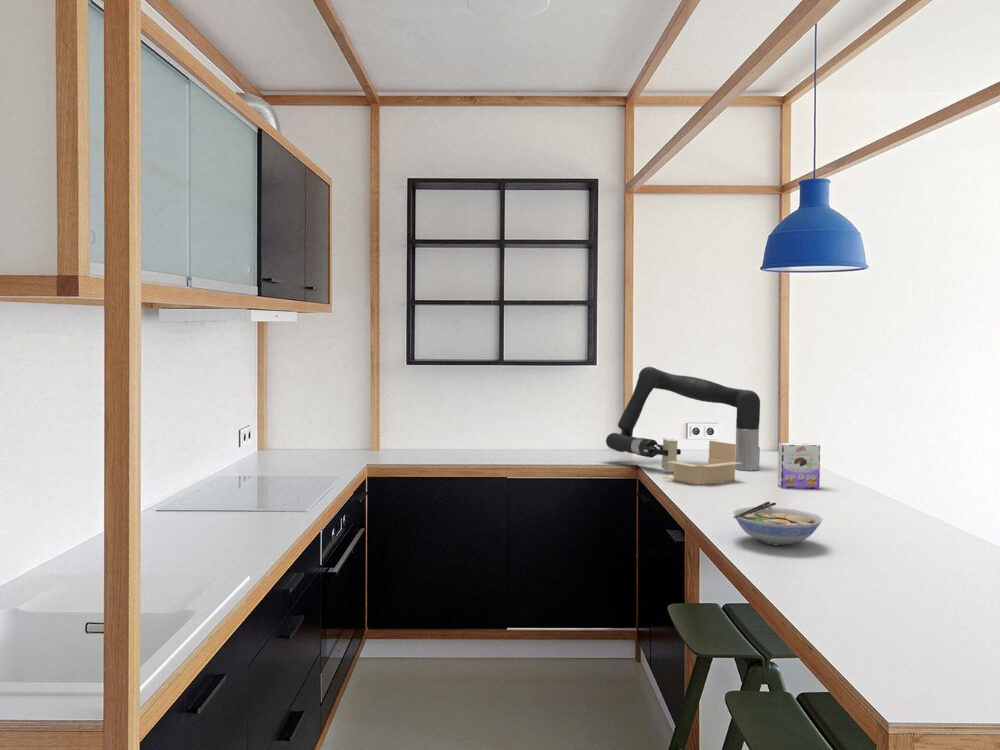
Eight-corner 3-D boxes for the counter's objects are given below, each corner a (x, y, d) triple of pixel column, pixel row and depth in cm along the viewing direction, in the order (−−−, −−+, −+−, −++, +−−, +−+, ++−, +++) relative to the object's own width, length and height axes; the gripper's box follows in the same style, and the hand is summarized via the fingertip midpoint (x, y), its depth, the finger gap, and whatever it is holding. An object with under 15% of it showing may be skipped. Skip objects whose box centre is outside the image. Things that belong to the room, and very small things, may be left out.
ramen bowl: (800, 559, 202) (801, 526, 202) (715, 543, 218) (715, 512, 217) (836, 541, 221) (837, 511, 221) (755, 527, 236) (756, 499, 236)
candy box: (815, 486, 305) (816, 442, 304) (819, 489, 299) (821, 444, 298) (777, 485, 306) (778, 441, 306) (780, 488, 300) (782, 443, 300)
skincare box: (661, 467, 334) (662, 438, 333) (672, 467, 334) (673, 438, 334) (665, 470, 328) (666, 440, 327) (676, 470, 328) (677, 440, 327)
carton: (696, 473, 332) (697, 438, 332) (742, 481, 313) (743, 445, 312) (654, 478, 319) (654, 442, 318) (699, 487, 299) (700, 449, 299)
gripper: (632, 439, 338) (661, 444, 324) (657, 437, 346) (686, 442, 333) (631, 457, 339) (660, 463, 325) (656, 455, 347) (686, 460, 333)
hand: (673, 452), depth 329 cm, fingers closed on skincare box, 6 cm apart
